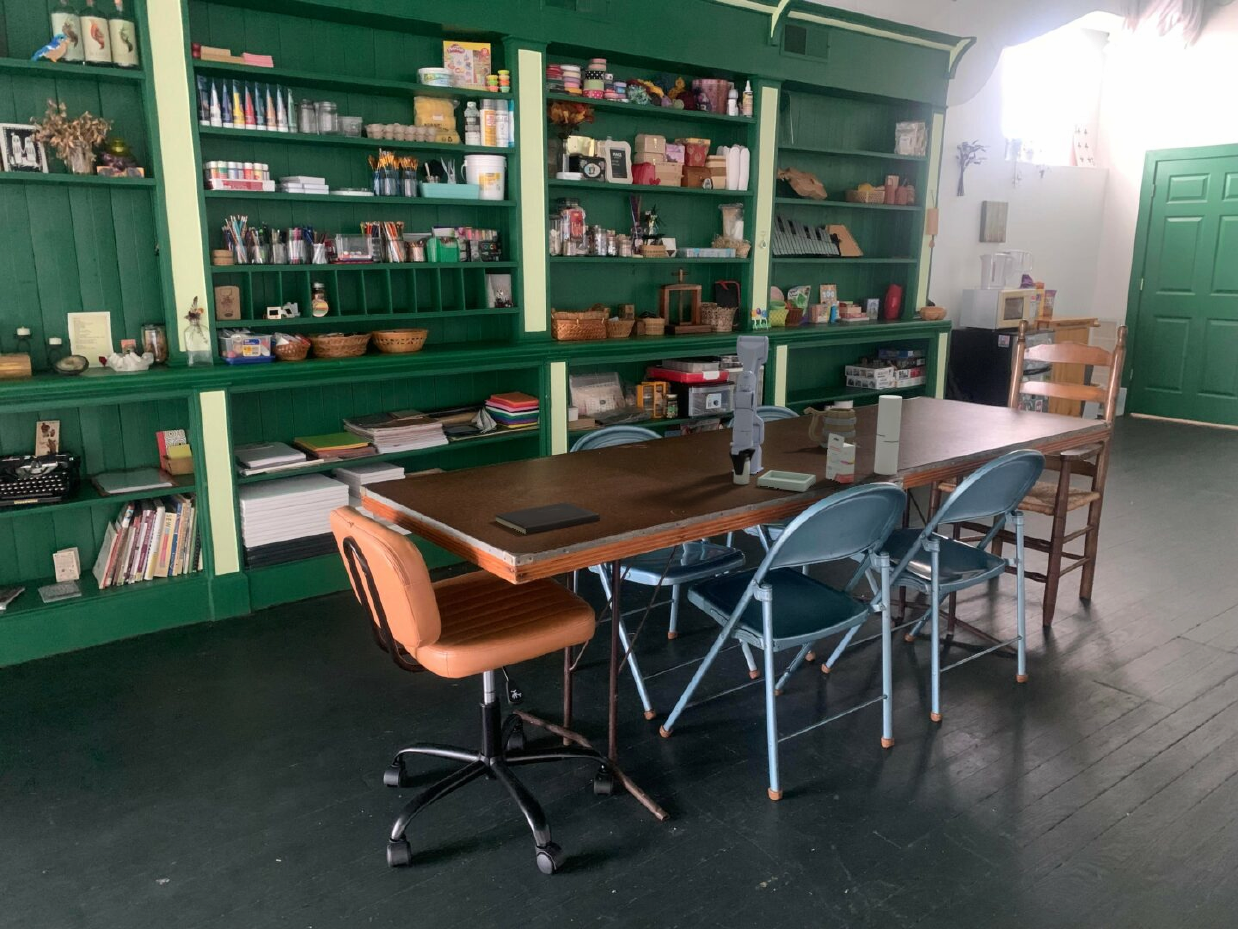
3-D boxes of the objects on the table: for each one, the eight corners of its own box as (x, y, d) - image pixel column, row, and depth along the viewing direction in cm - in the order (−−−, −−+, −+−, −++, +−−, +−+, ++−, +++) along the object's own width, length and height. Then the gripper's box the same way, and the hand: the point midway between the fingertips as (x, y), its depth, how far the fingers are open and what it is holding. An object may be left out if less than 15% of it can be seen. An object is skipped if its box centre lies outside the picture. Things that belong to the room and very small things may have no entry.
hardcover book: (494, 523, 247) (494, 514, 247) (566, 510, 261) (566, 502, 260) (526, 537, 235) (525, 528, 234) (600, 522, 248) (600, 514, 248)
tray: (770, 477, 298) (770, 470, 298) (815, 483, 292) (815, 475, 291) (757, 486, 287) (757, 478, 287) (804, 491, 281) (804, 483, 280)
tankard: (850, 443, 355) (852, 404, 352) (859, 450, 343) (862, 409, 340) (797, 443, 355) (799, 404, 352) (805, 450, 343) (807, 409, 339)
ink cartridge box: (854, 482, 293) (857, 436, 290) (841, 483, 291) (844, 437, 288) (837, 476, 301) (840, 431, 298) (824, 477, 299) (827, 432, 296)
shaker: (736, 480, 294) (737, 455, 292) (751, 481, 292) (752, 456, 290) (731, 483, 290) (732, 457, 288) (746, 484, 288) (747, 459, 286)
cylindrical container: (881, 468, 312) (886, 394, 307) (900, 472, 307) (906, 396, 302) (870, 472, 307) (875, 396, 302) (889, 475, 303) (895, 399, 297)
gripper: (738, 425, 295) (737, 467, 298) (722, 432, 283) (721, 476, 286) (760, 427, 292) (758, 469, 295) (744, 434, 280) (743, 479, 283)
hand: (741, 473), depth 290 cm, fingers closed on shaker, 5 cm apart
